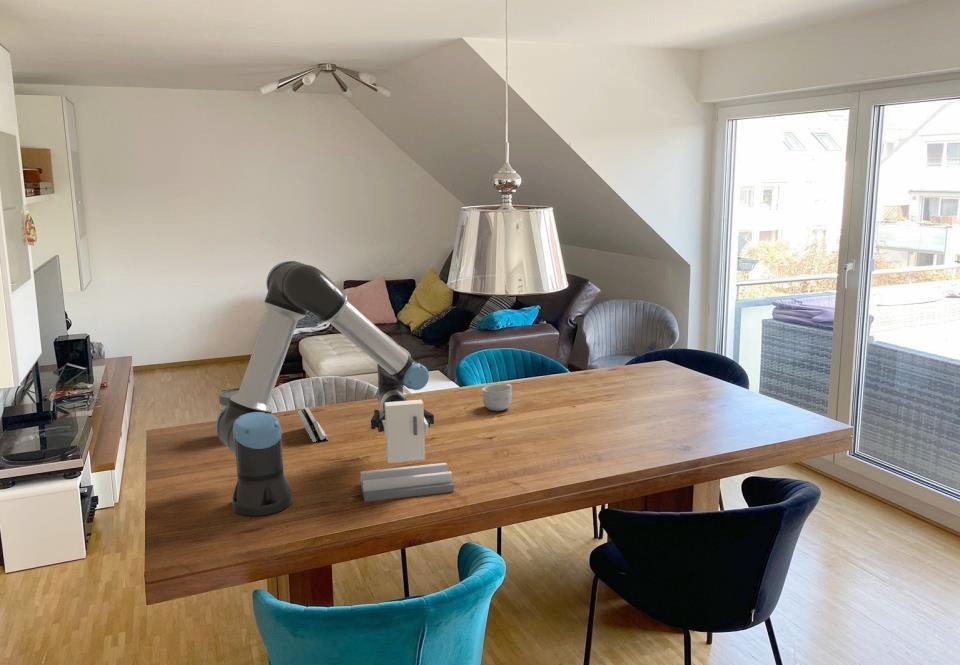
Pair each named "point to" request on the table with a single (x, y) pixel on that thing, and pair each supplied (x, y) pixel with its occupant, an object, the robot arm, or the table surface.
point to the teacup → (497, 396)
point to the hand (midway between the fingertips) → (407, 430)
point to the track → (406, 482)
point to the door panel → (405, 431)
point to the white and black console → (311, 425)
